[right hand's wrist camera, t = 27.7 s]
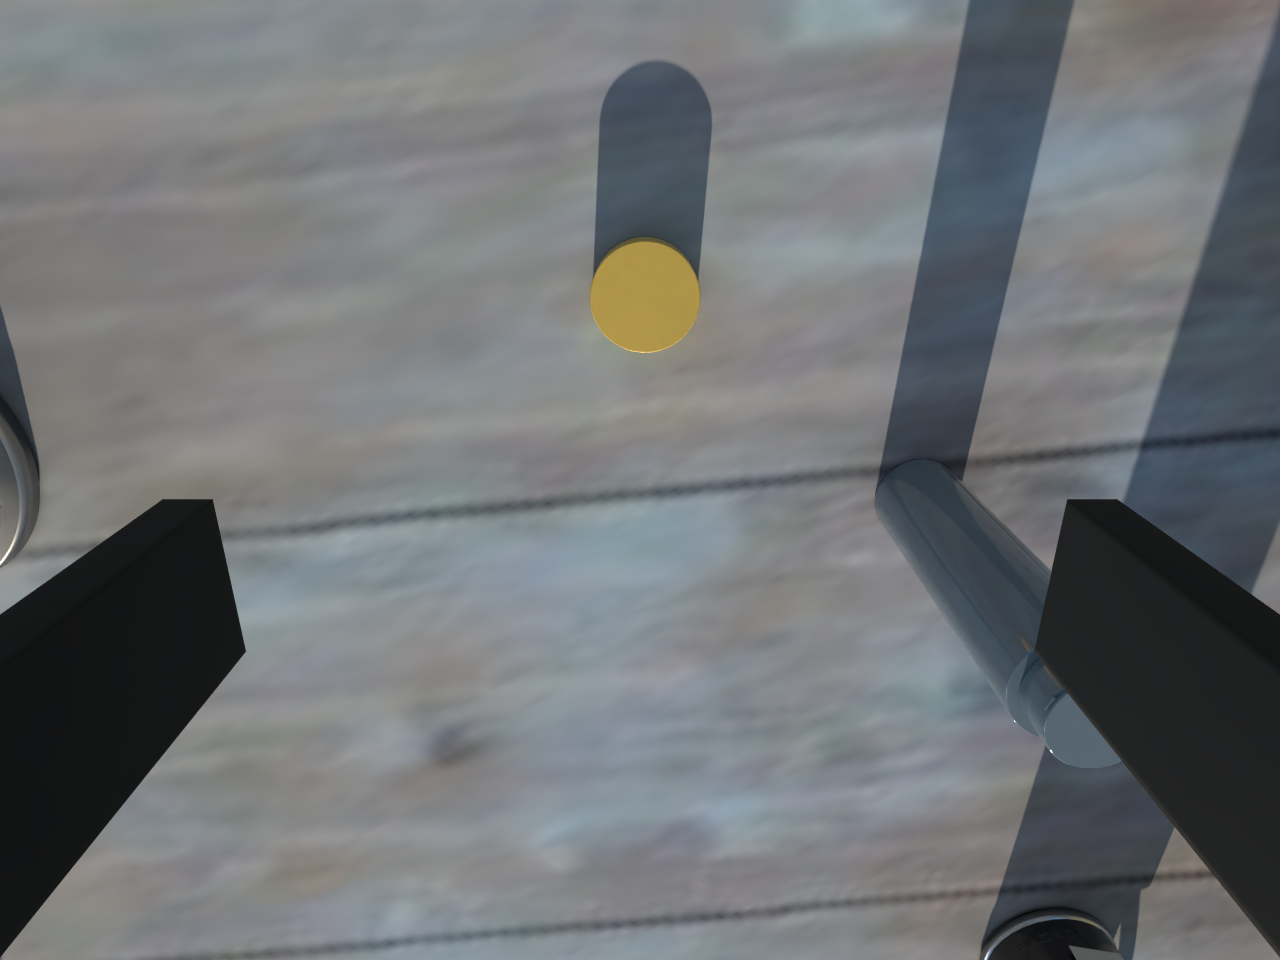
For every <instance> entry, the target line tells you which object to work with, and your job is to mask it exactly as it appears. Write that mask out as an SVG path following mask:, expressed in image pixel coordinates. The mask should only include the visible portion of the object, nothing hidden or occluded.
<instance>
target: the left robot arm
mask: <svg viewBox="0 0 1280 960" xmlns="http://www.w3.org/2000/svg"><path fill="white" fill-rule="evenodd" d="M980 960H1124V959H1123V957H1122V956H1121V954H1120V953H1119V951H1118V950H1117V947H1116V944H1115V942H1114V940H1113V938H1112V937H1111V935H1110V933H1109V932H1108V930H1107V929H1106V927H1105V926H1104V925H1103V924H1102V923H1101V922H1100V921H1098V920H1097V919H1095V918H1094V917H1092V916H1090V915H1088V914H1085V913H1082V912H1079V911H1074V910H1068V909H1049V910H1041V911H1036V912H1032V913H1029V914H1026V915H1023V916H1020V917H1018V918H1016V919H1014V920H1012V921H1010V922H1008V923H1007V924H1005V925H1004V926H1002V927H1001V928H1000V929H998V930H997V931H996V932H995V933H994V934H993V935H992V936H991V937H990V938H989V940H988V941H987V942H986V944H985V946H984V948H983V950H982V952H981V955H980Z"/></svg>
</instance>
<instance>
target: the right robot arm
mask: <svg viewBox="0 0 1280 960" xmlns="http://www.w3.org/2000/svg"><path fill="white" fill-rule="evenodd" d="M39 502H40V486H39V478H38V472H37V468H36V464H35V460H34V457H33V454H32V452H31V449H30V446H29V444H28V442H27V440H26V437H25V435H24V433H23V431H22V430H21V428H20V426H19V424H18V423H17V421H16V419H15V418H14V416H13V415H12V414H11V412H10V411H9V409H8V408H7V406H6V405H5V404H4V403H3V401H2V400H1V399H0V568H1V567H3V566H4V565H6V564H7V563H8V562H9V561H11V560H12V559H13V558H14V557H15V556H16V555H17V554H18V553H19V552H20V551H21V550H22V548H23V547H24V545H25V544H26V543H27V541H28V539H29V537H30V535H31V534H32V532H33V529H34V526H35V523H36V521H37V516H38V511H39ZM245 652H246V650H245V645H244V640H243V636H242V631H241V627H240V622H239V618H238V613H237V608H236V604H235V599H234V595H233V590H232V586H231V581H230V576H229V572H228V567H227V563H226V558H225V553H224V549H223V544H222V540H221V535H220V531H219V526H218V521H217V517H216V512H215V508H214V503H213V499H163V500H161V501H160V502H158V503H157V504H156V505H154V506H153V507H151V508H150V509H149V510H147V511H146V512H144V513H143V514H142V515H140V516H139V517H137V518H136V519H134V520H133V521H132V522H130V523H129V524H127V525H126V526H125V527H123V528H122V529H120V530H119V531H118V532H116V533H115V534H113V535H112V536H110V537H109V538H108V539H106V540H105V541H103V542H102V543H101V544H99V545H98V546H96V547H95V548H94V549H92V550H91V551H89V552H88V553H87V554H85V555H84V556H82V557H81V558H79V559H78V560H77V561H75V562H74V563H72V564H71V565H70V566H68V567H67V568H65V569H64V570H63V571H61V572H60V573H58V574H57V575H55V576H54V577H53V578H51V579H50V580H48V581H47V582H46V583H44V584H43V585H41V586H40V587H39V588H37V589H36V590H34V591H33V592H31V593H30V594H29V595H27V596H26V597H24V598H23V599H22V600H20V601H19V602H17V603H16V604H15V605H13V606H12V607H10V608H9V609H7V610H6V611H5V612H3V613H2V614H0V957H1V956H2V954H3V953H4V952H5V951H6V949H7V948H8V947H9V946H10V944H11V943H12V942H13V941H14V939H15V938H16V937H17V936H18V934H19V933H20V932H21V931H22V930H23V928H24V927H25V926H26V925H27V923H28V922H29V921H30V920H31V918H32V917H33V916H34V915H35V913H36V912H37V911H38V910H39V908H40V907H41V906H42V905H43V903H44V902H45V901H46V900H47V898H48V897H49V896H50V895H51V893H52V892H53V891H54V890H55V888H56V887H57V886H58V885H59V883H60V882H61V881H62V880H63V878H64V877H65V876H66V875H67V874H68V872H69V871H70V870H71V869H72V867H73V866H74V865H75V864H76V862H77V861H78V860H79V859H80V857H81V856H82V855H83V854H84V852H85V851H86V850H87V849H88V847H89V846H90V845H91V844H92V842H93V841H94V840H95V839H96V837H97V836H98V835H99V834H100V832H101V831H102V830H103V829H104V827H105V826H106V825H107V824H108V823H109V821H110V820H111V819H112V818H113V816H114V815H115V814H116V813H117V811H118V810H119V809H120V808H121V806H122V805H123V804H124V803H125V801H126V800H127V799H128V798H129V796H130V795H131V794H132V793H133V791H134V790H135V789H136V788H137V786H138V785H139V784H140V783H141V781H142V780H143V779H144V778H145V776H146V775H147V774H148V773H149V771H150V770H151V769H152V768H153V767H154V765H155V764H156V763H157V762H158V760H159V759H160V758H161V757H162V755H163V754H164V753H165V752H166V750H167V749H168V748H169V747H170V745H171V744H172V743H173V742H174V740H175V739H176V738H177V737H178V735H179V734H180V733H181V732H182V730H183V729H184V728H185V727H186V725H187V724H188V723H189V722H190V720H191V719H192V718H193V717H194V716H195V714H196V713H197V712H198V711H199V709H200V708H201V707H202V706H203V704H204V703H205V702H206V701H207V699H208V698H209V697H210V696H211V694H212V693H213V692H214V691H215V689H216V688H217V687H218V686H219V684H220V683H221V682H222V681H223V679H224V678H225V677H226V676H227V674H228V673H229V672H230V671H231V669H232V668H233V667H234V666H235V664H236V663H237V662H238V661H239V660H240V658H241V657H242V656H243V655H244V653H245ZM1034 652H1035V653H1036V655H1037V656H1038V657H1039V658H1040V660H1041V661H1042V662H1043V663H1044V664H1045V666H1046V667H1047V668H1048V669H1049V671H1050V672H1051V673H1052V674H1053V676H1054V677H1055V678H1056V679H1057V681H1058V682H1059V683H1060V684H1061V686H1062V687H1063V688H1064V689H1065V691H1066V692H1067V693H1068V694H1069V696H1070V697H1071V698H1072V699H1073V701H1074V702H1075V703H1076V704H1077V706H1078V707H1079V708H1080V709H1081V711H1082V712H1083V713H1084V714H1085V716H1086V717H1087V718H1088V719H1089V720H1090V722H1091V723H1092V724H1093V725H1094V727H1095V728H1096V729H1097V730H1098V732H1099V733H1100V734H1101V735H1102V737H1103V738H1104V739H1105V740H1106V742H1107V743H1108V744H1109V745H1110V747H1111V748H1112V749H1113V750H1114V752H1115V753H1116V754H1117V755H1118V757H1119V758H1120V759H1121V760H1122V762H1123V763H1124V764H1125V765H1126V767H1127V768H1128V769H1129V770H1130V771H1131V773H1132V774H1133V775H1134V776H1135V778H1136V779H1137V780H1138V781H1139V783H1140V784H1141V785H1142V786H1143V788H1144V789H1145V790H1146V791H1147V793H1148V794H1149V795H1150V796H1151V798H1152V799H1153V800H1154V801H1155V803H1156V804H1157V805H1158V806H1159V808H1160V809H1161V810H1162V811H1163V813H1164V814H1165V815H1166V816H1167V818H1168V819H1169V820H1170V821H1171V823H1172V824H1173V825H1174V826H1175V827H1176V829H1177V830H1178V831H1179V832H1180V834H1181V835H1182V836H1183V837H1184V839H1185V840H1186V841H1187V842H1188V844H1189V845H1190V846H1191V847H1192V849H1193V850H1194V851H1195V852H1196V854H1197V855H1198V856H1199V857H1200V859H1201V860H1202V861H1203V862H1204V864H1205V865H1206V866H1207V867H1208V869H1209V870H1210V871H1211V872H1212V874H1213V875H1214V876H1215V877H1216V879H1217V880H1218V881H1219V882H1220V883H1221V885H1222V886H1223V887H1224V888H1225V890H1226V891H1227V892H1228V893H1229V895H1230V896H1231V897H1232V898H1233V900H1234V901H1235V902H1236V903H1237V905H1238V906H1239V907H1240V908H1241V910H1242V911H1243V912H1244V913H1245V915H1246V916H1247V917H1248V918H1249V920H1250V921H1251V922H1252V923H1253V925H1254V926H1255V927H1256V928H1257V930H1258V931H1259V932H1260V933H1261V934H1262V936H1263V937H1264V938H1265V939H1266V941H1267V942H1268V943H1269V944H1270V946H1271V947H1272V948H1273V949H1274V951H1275V952H1276V953H1277V954H1278V956H1279V957H1280V614H1278V613H1277V612H1275V611H1274V610H1273V609H1271V608H1270V607H1268V606H1267V605H1265V604H1264V603H1263V602H1261V601H1260V600H1258V599H1257V598H1256V597H1254V596H1253V595H1251V594H1250V593H1249V592H1247V591H1246V590H1244V589H1243V588H1241V587H1240V586H1239V585H1237V584H1236V583H1234V582H1233V581H1232V580H1230V579H1229V578H1227V577H1226V576H1225V575H1223V574H1222V573H1220V572H1219V571H1217V570H1216V569H1215V568H1213V567H1212V566H1210V565H1209V564H1208V563H1206V562H1205V561H1203V560H1202V559H1201V558H1199V557H1198V556H1196V555H1195V554H1193V553H1192V552H1191V551H1189V550H1188V549H1186V548H1185V547H1184V546H1182V545H1181V544H1179V543H1178V542H1177V541H1175V540H1174V539H1172V538H1171V537H1170V536H1168V535H1167V534H1165V533H1164V532H1162V531H1161V530H1160V529H1158V528H1157V527H1155V526H1154V525H1153V524H1151V523H1150V522H1148V521H1147V520H1146V519H1144V518H1143V517H1141V516H1140V515H1138V514H1137V513H1136V512H1134V511H1133V510H1131V509H1130V508H1129V507H1127V506H1126V505H1124V504H1123V503H1122V502H1120V501H1119V500H1117V499H1067V503H1066V508H1065V512H1064V517H1063V521H1062V526H1061V531H1060V535H1059V540H1058V544H1057V549H1056V553H1055V558H1054V563H1053V567H1052V572H1051V576H1050V581H1049V586H1048V590H1047V595H1046V599H1045V604H1044V608H1043V613H1042V618H1041V622H1040V627H1039V631H1038V636H1037V640H1036V645H1035V650H1034Z"/></svg>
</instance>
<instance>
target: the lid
mask: <svg viewBox="0 0 1280 960" xmlns="http://www.w3.org/2000/svg"><path fill="white" fill-rule="evenodd" d="M590 303H591V309H592V313H593V316H594V319H595V321H596V323H597V325H598V327H599V328H600V329H601V331H602V332H603V333H604V335H605V336H606V337H607V338H608V339H610V340H611V341H612V342H613V343H615V344H617V345H618V346H620V347H622V348H624V349H627V350H630V351H634V352H643V353H648V352H656V351H660V350H663V349H666V348H668V347H670V346H672V345H674V344H675V343H676V342H678V341H679V340H680V339H682V338H683V337H684V336H685V335H686V333H687V332H688V331H689V330H690V328H691V327H692V325H693V323H694V321H695V319H696V317H697V314H698V311H699V305H700V288H699V283H698V280H697V277H696V274H695V272H694V270H693V268H692V266H691V264H690V262H689V261H688V259H687V258H686V256H685V255H684V254H683V253H682V252H681V251H680V250H679V249H677V248H676V247H675V246H673V245H672V244H670V243H668V242H666V241H664V240H661V239H658V238H652V237H638V238H633V239H629V240H626V241H624V242H622V243H620V244H618V245H616V246H615V247H614V248H613V249H611V250H610V251H609V252H608V253H607V254H606V255H605V256H604V258H603V259H602V260H601V262H600V264H599V266H598V268H597V270H596V273H595V275H594V278H593V281H592V284H591V290H590Z"/></svg>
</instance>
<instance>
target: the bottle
mask: <svg viewBox="0 0 1280 960" xmlns="http://www.w3.org/2000/svg"><path fill="white" fill-rule="evenodd" d="M875 510H876V514H877V516H878V518H879V520H880V521H881V523H882V524H883V526H884V527H885V529H886V530H887V532H888V533H889V535H890V536H891V538H892V539H893V541H894V542H895V544H896V545H897V547H898V548H899V550H900V551H901V553H902V554H903V556H904V557H905V559H906V560H907V562H908V563H909V565H910V566H911V568H912V569H913V571H914V572H915V574H916V575H917V577H918V578H919V580H920V581H921V583H922V584H923V586H924V587H925V589H926V590H927V592H928V593H929V595H930V596H931V598H932V599H933V601H934V602H935V604H936V605H937V607H938V608H939V610H940V611H941V613H942V614H943V616H944V617H945V619H946V620H947V622H948V623H949V625H950V626H951V628H952V629H953V631H954V632H955V634H956V635H957V637H958V638H959V640H960V641H961V643H962V644H963V646H964V647H965V649H966V650H967V652H968V653H969V655H970V656H971V658H972V659H973V661H974V662H975V664H976V665H977V667H978V668H979V670H980V671H981V673H982V674H983V676H984V677H985V679H986V680H987V682H988V683H989V685H990V686H991V688H992V689H993V691H994V692H995V694H996V695H997V697H998V698H999V700H1000V701H1001V703H1002V704H1003V706H1004V707H1005V709H1006V710H1007V712H1008V713H1009V715H1010V716H1011V718H1012V719H1013V720H1014V722H1015V723H1016V724H1017V725H1018V726H1019V727H1021V728H1022V729H1023V730H1025V731H1027V732H1028V733H1030V734H1032V735H1035V736H1038V737H1040V738H1041V739H1042V741H1043V742H1044V743H1045V745H1046V746H1047V748H1048V749H1049V751H1050V752H1051V753H1052V754H1053V755H1054V756H1055V757H1056V758H1057V759H1059V760H1060V761H1062V762H1064V763H1066V764H1068V765H1071V766H1075V767H1080V768H1101V767H1106V766H1110V765H1113V764H1116V763H1119V762H1121V761H1122V760H1121V759H1120V758H1119V757H1118V755H1117V754H1116V753H1115V752H1114V750H1113V749H1112V748H1111V747H1110V745H1109V744H1108V743H1107V742H1106V740H1105V739H1104V738H1103V737H1102V735H1101V734H1100V733H1099V732H1098V730H1097V729H1096V728H1095V727H1094V725H1093V724H1092V723H1091V722H1090V720H1089V719H1088V718H1087V717H1086V716H1085V714H1084V713H1083V712H1082V711H1081V709H1080V708H1079V707H1078V706H1077V704H1076V703H1075V702H1074V701H1073V699H1072V698H1071V697H1070V696H1069V694H1068V693H1067V692H1066V691H1065V689H1064V688H1063V687H1062V686H1061V684H1060V683H1059V682H1058V681H1057V679H1056V678H1055V677H1054V676H1053V674H1052V673H1051V672H1050V671H1049V669H1048V668H1047V667H1046V666H1045V664H1044V663H1043V662H1042V661H1041V660H1040V658H1039V657H1038V656H1037V655H1036V653H1035V652H1034V650H1035V645H1036V640H1037V636H1038V631H1039V627H1040V622H1041V618H1042V613H1043V608H1044V604H1045V599H1046V595H1047V590H1048V586H1049V581H1050V576H1051V572H1052V571H1051V570H1050V569H1049V568H1048V567H1047V566H1046V565H1045V564H1044V563H1043V562H1042V561H1041V560H1040V559H1039V558H1038V557H1037V556H1036V555H1035V554H1034V553H1033V552H1032V551H1031V550H1030V549H1029V548H1028V547H1027V546H1026V545H1025V544H1024V543H1023V542H1022V541H1021V540H1020V539H1019V538H1018V537H1017V536H1016V535H1015V534H1014V533H1013V532H1012V531H1011V530H1010V529H1009V528H1008V527H1007V526H1006V525H1005V524H1004V523H1003V522H1002V521H1001V520H1000V519H999V518H998V517H997V516H996V515H995V514H994V513H993V512H992V511H991V510H990V509H989V508H988V507H987V506H986V505H985V504H984V503H983V502H982V501H981V500H980V499H979V498H978V497H977V496H976V495H975V494H974V493H973V492H972V491H971V490H970V489H969V488H968V487H967V486H966V485H965V484H964V483H963V482H962V481H961V480H960V479H959V478H958V477H957V476H956V475H955V474H954V473H953V472H952V471H950V470H949V469H948V468H947V467H946V466H944V465H943V464H941V463H939V462H936V461H932V460H925V459H920V460H912V461H909V462H905V463H903V464H901V465H899V466H897V467H895V468H894V469H893V470H891V471H890V472H889V473H888V474H887V475H886V476H885V477H884V479H883V480H882V481H881V483H880V485H879V487H878V489H877V492H876V496H875Z"/></svg>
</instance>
